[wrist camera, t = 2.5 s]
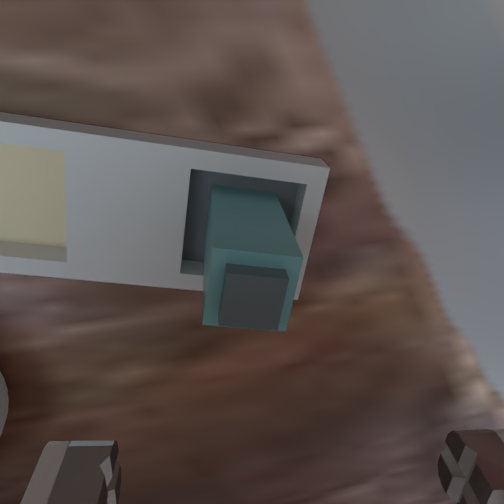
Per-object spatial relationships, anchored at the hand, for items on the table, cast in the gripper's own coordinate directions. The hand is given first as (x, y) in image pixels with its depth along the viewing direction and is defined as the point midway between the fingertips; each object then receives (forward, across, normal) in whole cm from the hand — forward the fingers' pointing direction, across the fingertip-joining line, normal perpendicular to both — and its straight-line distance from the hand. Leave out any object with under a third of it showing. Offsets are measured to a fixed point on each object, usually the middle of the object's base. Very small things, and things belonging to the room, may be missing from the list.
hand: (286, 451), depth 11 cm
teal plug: (+16, 0, 0) cm, 16 cm away
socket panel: (+16, +6, 0) cm, 17 cm away
